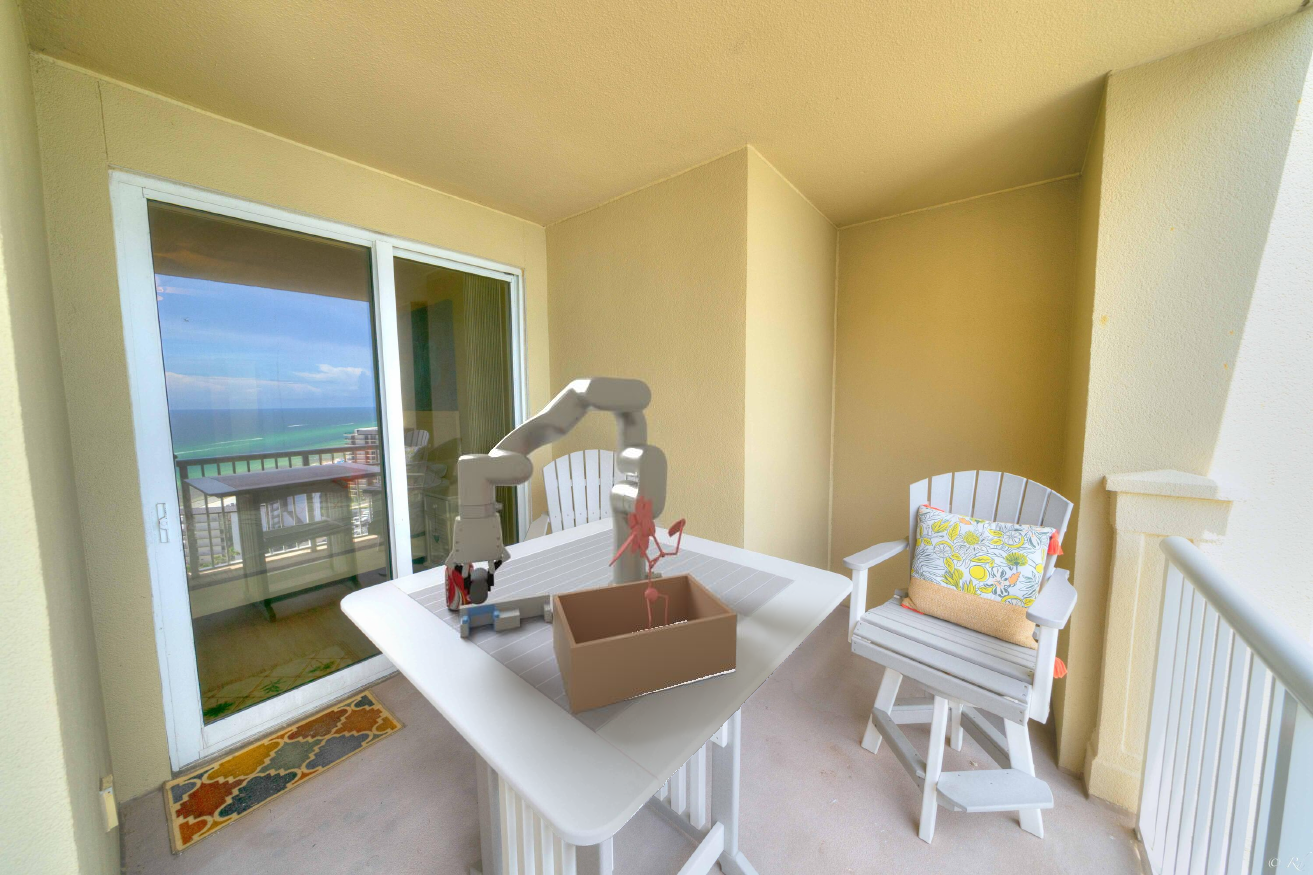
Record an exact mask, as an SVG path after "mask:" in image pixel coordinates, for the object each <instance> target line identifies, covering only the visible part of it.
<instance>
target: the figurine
mask: <svg viewBox="0 0 1313 875" xmlns="http://www.w3.org/2000/svg"><path fill="white" fill-rule="evenodd" d="M652 503H653V502H652V499H651V498H650V499H648V500H647V501H646V503H645V501H644V496H643V495H641V496H640V498H639V499H637V500H636V502H635V514H634V513H629V515H628V523H629V526H630V529H631V531H630V535H629V536H630V537H629V538H628V540H627V541H626V542H625V543H624V544H623V545H622V547H621V548H620V549H619V551H618V552H617V553H616V555H615V556H614V558H613V557H612V559H611V561H610V563H609V565H608V567H612V566H613V563H614V562H615V561H616V560H617V559H618V558H619V557H620V556H621V555H622V553H623V552H624V551H625V550H626V548H627V547H628V546H629V544H630V543H631V542H632V543H631V548H630V550H631V553H634V552H636V551H637V550H638V549H639V551H640V552H639V554H640V557H641V558H643V557H644V555H645V557H646V563H648V572H649V588H648V589H647V590H646V592H645V598H646V599H647V604H648V612H649V620H650V621H649V629H651V614H650V605H649V601H650V602H653V601H655V600H656V599H657V598H658V596H661V597H666V615H665V626H666V624H667V609H668V596H665V595H660V594H658V592H657V590H656V589H654V588H650V587H651V571H652V569H654V567H655V565H656V564H657V563H658V561H660V560H659V559H660V558H665V557H666V556H678V553H679V549H680V546H681V545H680V543H681V539H682V534H683V528H684V527H685V525H686V523H687V521H686V519H685V518H681V519H679V520H678V521H676V522H675V523H673V524H672V525H671V526H670V528H669V529H668V531H667V535H668V537H669V538H672V537H673V536H676V534H677V533H678V539H677V543H676V548H675V552H664V551H663V550H662V547H661V545H660V543H659V541H658V539H657V537H656V532H657V531H656V530H657V528H656V525H655V524H656V523H655V521H654V520H652V519H653V514H652ZM650 537H652V539H653V541H654V543H655V545H656V547H657V549H658V551H659V554H658V555H657V556H656V557H654V558H653V559H650V557H649V555H648V553H647V551H648V550H649V546H650V544H649V543H650Z"/></svg>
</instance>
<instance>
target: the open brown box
mask: <svg viewBox="0 0 1313 875" xmlns="http://www.w3.org/2000/svg"><path fill="white" fill-rule="evenodd" d="M648 588H649V580H643V581H637V582H631V583H624V584H618V585H612V586H608V585H607V586H600V587H595V588H594V587H593V588H587V589H579V590H575V591H569V592H563V593H556V594H555V593H554V594H552V637H553V638H552V640H553V641H552V642H553V643H552V644H553V645H552V646H553V647H552V648H553V650H554V654H555V658H556V662H557V665H558V669H559V672H560V676H561V680H562V682H563V687H564V691H565V694H566V698H567V701H568V705H569V709H570V711H571V712H570V714H571V715H575V714H579V713H583V712H588V711H590V710H593V709H597V708H601V707H605V706H610V705H613V704H617V703H620V702H619V701H621V702H624V701H623V700H625V701H627V700H626V699H629V698H632V697H635V696H639V695H642V694H644V693H648V692H653V691H656V690H660V689H664V688H667V687H671V686H674V685H678V684H681V683H684V682H688V681H692V680H696V679H698V678H703V677H705V676H709V675H714V674H717V673H721V672H724V671H729V670H732V669H735V668H736V669H737V631H738V630H737V628H738V626H737V625H738V614H737V613H736V612H735V611H734V610H733V609H731V608H730V607H729V606H728V605H727V604H725V603H724V602H723V601H722V600H721V599H719V597H717V596H716V595H715V594H714V593H712V592H711V591H710V590H709V589H708V588H706V586H705V585H703V584H702V583H701V582H699V580H697V579H696V578H695V577H693V576H692V574H690V573H683V574H677V575H670V576H664V577H663V576H662V578H656V579H651V587H650V588H654V589H656V590H657V592H658V594H660V595H665V596H668V609H667V624H666V625H668V626H665V615H666V597H661V596H658V598H657V599H656V600H655V601H653V602H650V601H649V605H650V614H651V628H653V629H649V621H650V620H649V612H648V604H647V599H646V598H645V592H646V590H647V589H648ZM685 620H687V622H683V623H678V624H674V623H676V622H681V621H685ZM670 624H673V625H670ZM659 626H663V627H659ZM655 627H658V628H655ZM645 629H648V630H645ZM640 630H643V631H640ZM637 631H638V632H637ZM632 632H633V633H632ZM629 700H630V699H629ZM616 702H617V703H616ZM612 703H613V704H612Z"/></svg>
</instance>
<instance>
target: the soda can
mask: <svg viewBox="0 0 1313 875" xmlns="http://www.w3.org/2000/svg"><path fill="white" fill-rule="evenodd" d="M473 564H474V563H469V571H470V573H471V574H472V572H473V570H475V567H474V565H473ZM461 565H462V566H463V564H461ZM444 587H445V589H444V590H445V593H444V595H445V603H446V608H448V609H451V610H452V611H460V606H463V605H470V604H473V603H472V602H471V601H470V595H467V590H464V578H463V577H462V575H461V574H459V573H458V572H457V571H455V570H454V569H451V568H449V567H446V566H445V569H444Z"/></svg>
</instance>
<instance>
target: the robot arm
mask: <svg viewBox="0 0 1313 875" xmlns="http://www.w3.org/2000/svg"><path fill="white" fill-rule="evenodd" d="M651 391H652V390H651V389H650V386H649V385H648V384H647V383H646V382H644V381H643V380H641V379H635V378H621V377H608V376H585V377H579V378H575V379H573V380H572V381H570V383H569V384H568V385H566V386H565V387H564V389H563V390H561V391H560V392H559V393H558V394H557V396H555V397H554V398H553V399H552V400H551V401H550V402H549V403H548V404H547V405H545V407H544V408H543V409H542V410H541V411H539V413H537V414H536V415H534V416H532V417H531V418H530V419H528V420H527V421H525V422H524V423H522V424H521V425H519V426H518V427H516V428H515V429H513V430H512V431H511V432H510V433H508V434H507V435H506V436H505V437H503V439H502V440H501V441H500V442H498V443H497V445H495V447H493V449H491V450H490V452H489V453H488V454H487V453H470V454H463V455H461V456H460V457H459V458H458V460H457V489H458V490H457V492H458V498H457V499H458V516H455V519H454V525H453V533H452V534H453V537H452V538H453V539H452V550H451V552H450V553H449V555H448V556H447V558H446V560H445V562H444V566H445V568H446V567H449V568H451V569H454V570H455V571H457V572H458V573H459V574H461V575H462V577H463V578H464V590H467V595H470V587H471V573H470V571H469V563H472V564H474V563H482V562H483V563H485V562H487V566H488V568H487V584H488V593H490V592H491V593H492V587H495V573H496V571H497V570H498V569H500V567H501V566H502V565H503V564H504V563H506V562H507V561H509V560H510V559H511V556H512V555H511V554H510V552H509V550H508V549H507V547H506V546H505V545H504V544H503V531H502V530H503V529H502V523H501V522H502V521H501V517H500V513H499V512H497V511H499V510H503V502H502V503H499V502H497V501H496V487H497V486H503V487H504V486H505V487H506V486H507V487H508V486H509V487H513V486H514V487H515V486H521V485H523V484H526V483H527V482H528V481H529V480H530V479H531V477H532V476H533V474H534V464H533V462H532V460H531V459H530V458H529V457H528V456H529V455H530V454H532V453H533V452H535V451H536V450H538V449H539V448H542V447H543V446H547V445H550V444H553V443H556V442H559V441H560V440H562V439H565V437H567V436H568V435H569V434H570V432H572V431H573V429H574V428H575V427H577V425H578V424H579V423H580V422H581V421H582V420H583V419H584V418H585V417H586V416H587V415H588V414H589V412H592V411H593V412H610V414H611V415H612V416H613V418H614V419H615V420H614V421H615V423H616V428H617V430H616V432H617V434H616V436H617V438H616V458H615V462H616V463H615V464H616V468H617V471H619V472H620V473H621V474H623V475H624V476H627V477H632V478H635V479H636V478H637V481H636V480H631V479H624V480H619V481H618V482H616V483H615V484H614V485H613V486H612V487H611V490H610V492H609V498H608V499H609V507H610V512H611V518H612V559H613V558H614V556H615V555H616V553H617V552H618V551H619V549H620V548H621V547H622V545H623V544H624V543H625V542H626V541H627V540H628V538H629V537H630V536H629V535H630V531H631V529H630V526H629V523H628V515H629V513H634V514H635V502H636V500H637V499H639V498H640V496H641V495H643V496H644V501H645V503H646V501H647V500H648V499H650V498H651V499H652V502H653V503H652V514H653V519H652V520H653V521H654V520H657V519H658V518H660V517H661V515H662V514H663V512H664V510H665V506H666V501H667V500H666V498H667V487H668V486H667V485H668V483H667V482H668V459H667V457H666V454H665V452H664V451H663V450H662V449H661V448H660V447H659V446H656V445H653V444H648V423H647V418H646V415H645V413H644V412H643V411H645V409H647V408H648V406H650V405H651V401H652V392H651ZM631 543H632V542H631ZM631 543H630V544H629V546H628V547H627V548H626V550H625V551H624V552H623V553H622V555H621V556H620V557H619V558H618V559H617V560H616V561H615V562H614V563H613V564H612V580H610V582H608V584H607V586H612V585H618V584H624V583H631V582H637V581H643V580H649V571H647V559H646V557H645V555H644V557H643V558H641V557H640V554H639V552H640V551H639V549H638V550H637V551H636V552H634V553H631V550H630V548H631ZM461 564H463V566H462V565H461ZM662 577H663V576H662V572H655V571H654V570H651V579H656V578H662Z"/></svg>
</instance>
